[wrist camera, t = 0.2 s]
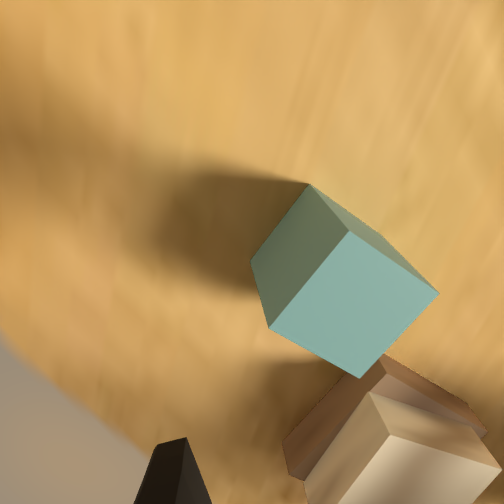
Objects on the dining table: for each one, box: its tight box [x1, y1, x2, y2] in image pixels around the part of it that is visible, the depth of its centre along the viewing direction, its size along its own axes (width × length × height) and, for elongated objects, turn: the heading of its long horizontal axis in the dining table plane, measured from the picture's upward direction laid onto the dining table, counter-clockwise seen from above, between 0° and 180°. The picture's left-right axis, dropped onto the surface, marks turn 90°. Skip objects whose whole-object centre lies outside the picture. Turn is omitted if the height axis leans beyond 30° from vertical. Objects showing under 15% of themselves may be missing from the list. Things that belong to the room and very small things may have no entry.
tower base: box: [282, 354, 488, 481], centre depth 23 cm, size 7×7×2 cm
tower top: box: [303, 391, 502, 504], centre depth 21 cm, size 6×6×2 cm
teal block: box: [250, 184, 439, 379], centre depth 17 cm, size 4×4×5 cm
